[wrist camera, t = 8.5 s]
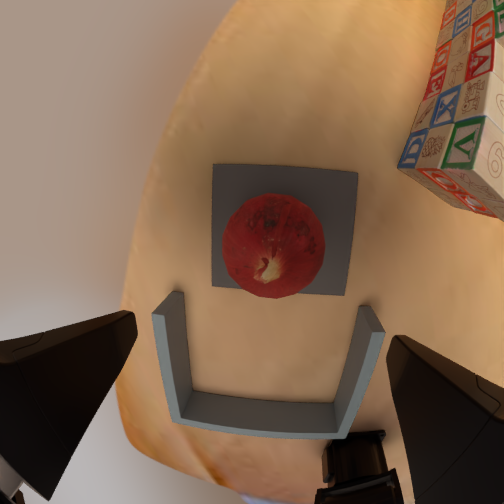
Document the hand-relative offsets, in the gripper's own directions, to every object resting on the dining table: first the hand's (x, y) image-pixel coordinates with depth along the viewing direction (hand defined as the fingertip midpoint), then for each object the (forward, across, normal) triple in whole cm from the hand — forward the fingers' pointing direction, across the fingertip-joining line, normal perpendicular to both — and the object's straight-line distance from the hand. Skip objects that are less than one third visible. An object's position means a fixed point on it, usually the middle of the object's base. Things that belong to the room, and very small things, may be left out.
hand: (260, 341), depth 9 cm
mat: (+12, 0, -1) cm, 12 cm away
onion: (+12, 0, -1) cm, 12 cm away
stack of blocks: (+12, -15, -16) cm, 25 cm away
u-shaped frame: (+12, 0, +10) cm, 15 cm away
